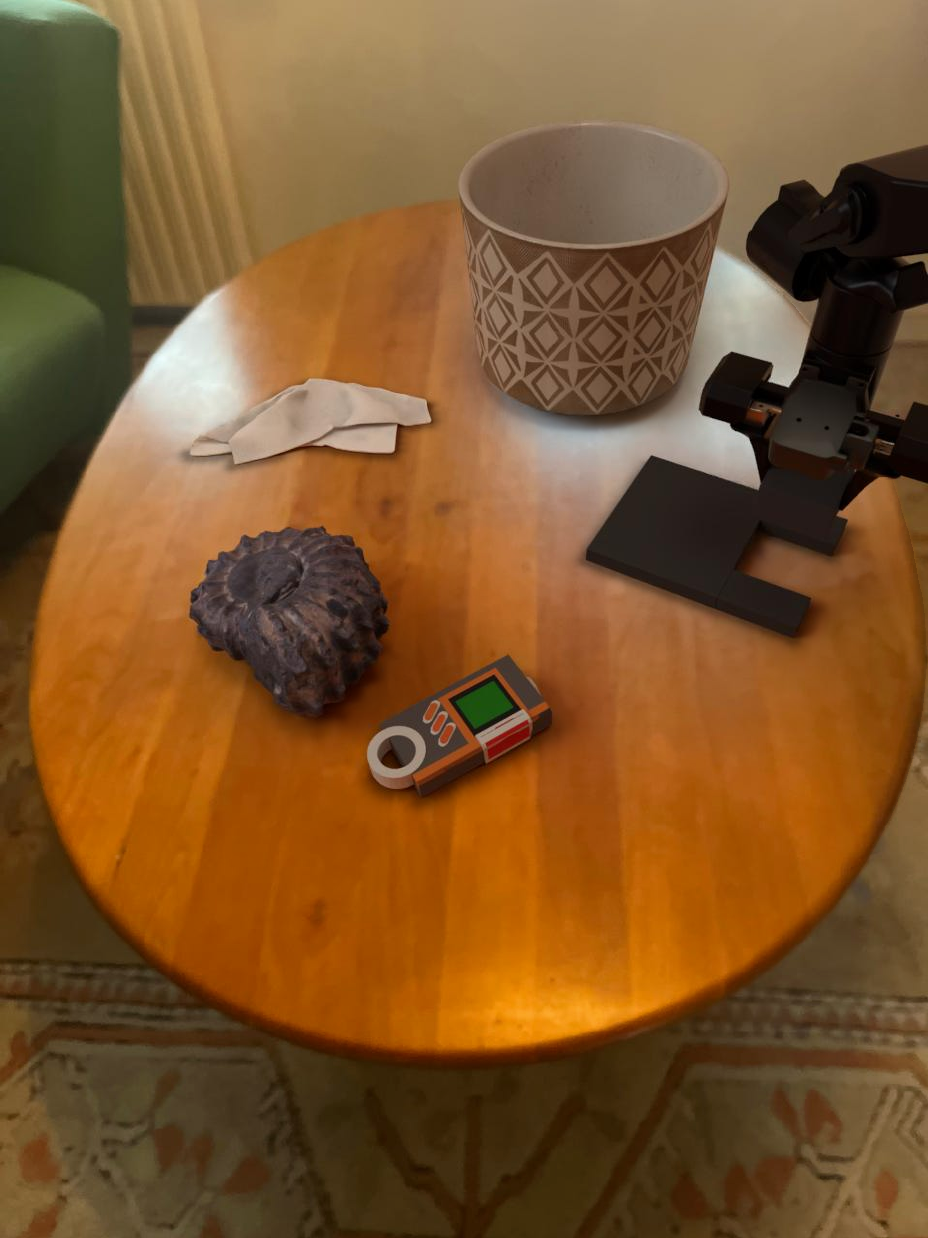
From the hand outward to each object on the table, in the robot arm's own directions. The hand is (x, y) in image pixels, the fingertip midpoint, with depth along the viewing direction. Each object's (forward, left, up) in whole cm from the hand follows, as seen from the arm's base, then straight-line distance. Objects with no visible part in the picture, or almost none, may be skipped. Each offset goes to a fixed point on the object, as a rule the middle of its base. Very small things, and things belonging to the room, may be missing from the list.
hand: (802, 494), depth 80 cm
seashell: (+34, +29, -10) cm, 46 cm away
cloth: (+52, +2, -10) cm, 53 cm away
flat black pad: (+6, -1, -10) cm, 12 cm away
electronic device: (+17, +30, -10) cm, 36 cm away
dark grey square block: (0, 0, -1) cm, 1 cm away
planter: (+30, -20, -10) cm, 38 cm away
